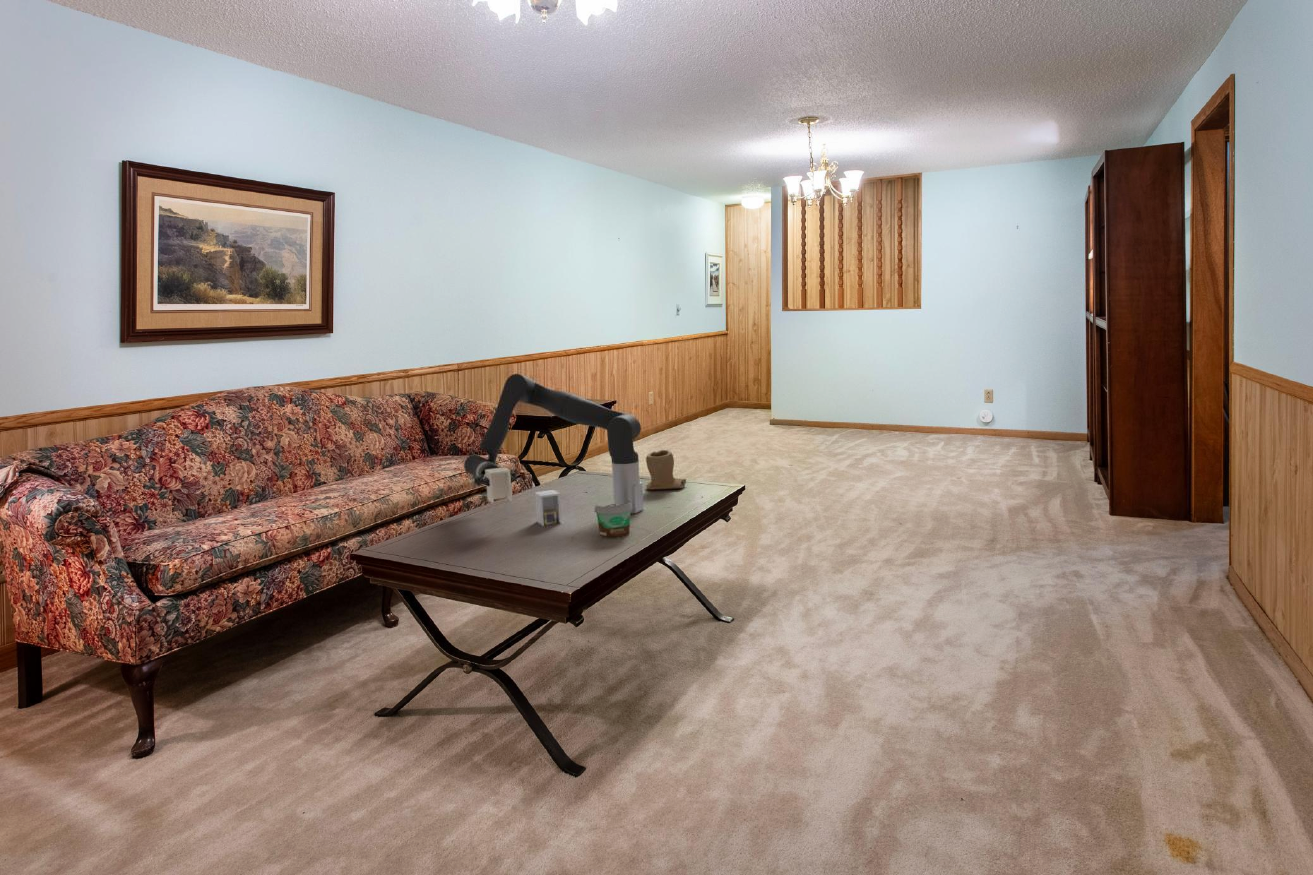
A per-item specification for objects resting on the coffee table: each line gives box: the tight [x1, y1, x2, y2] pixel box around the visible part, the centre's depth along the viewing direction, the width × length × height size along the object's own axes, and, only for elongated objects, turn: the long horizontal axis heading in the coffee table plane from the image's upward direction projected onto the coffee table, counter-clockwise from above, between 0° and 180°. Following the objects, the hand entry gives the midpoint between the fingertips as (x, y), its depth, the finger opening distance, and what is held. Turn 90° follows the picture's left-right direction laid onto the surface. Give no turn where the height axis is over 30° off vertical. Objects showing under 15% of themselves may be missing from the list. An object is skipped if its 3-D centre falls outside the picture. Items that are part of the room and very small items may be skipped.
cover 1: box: [485, 466, 513, 504], centre depth 273 cm, size 7×7×10 cm
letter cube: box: [543, 509, 557, 525], centre depth 281 cm, size 4×4×4 cm
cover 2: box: [534, 489, 563, 527], centre depth 281 cm, size 7×7×10 cm
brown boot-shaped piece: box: [645, 449, 687, 490], centre depth 324 cm, size 15×12×15 cm
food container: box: [594, 500, 632, 539], centre depth 259 cm, size 12×6×10 cm, turn 117°
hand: (499, 481), depth 271 cm, fingers closed on cover 1, 6 cm apart
